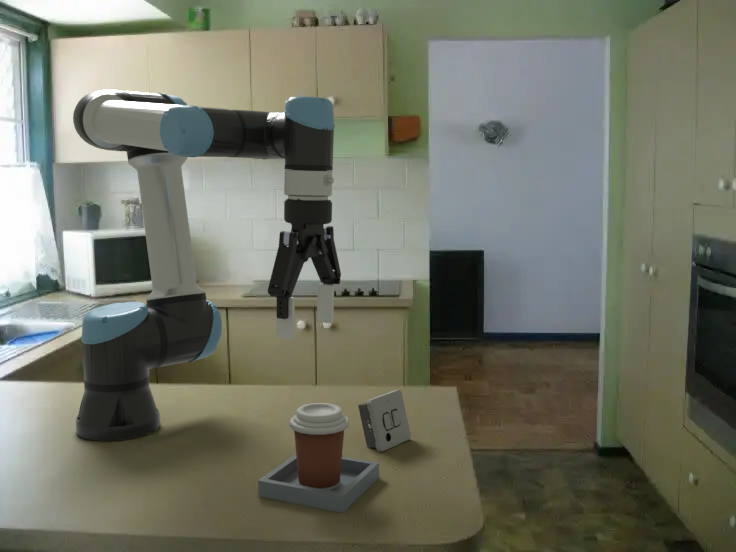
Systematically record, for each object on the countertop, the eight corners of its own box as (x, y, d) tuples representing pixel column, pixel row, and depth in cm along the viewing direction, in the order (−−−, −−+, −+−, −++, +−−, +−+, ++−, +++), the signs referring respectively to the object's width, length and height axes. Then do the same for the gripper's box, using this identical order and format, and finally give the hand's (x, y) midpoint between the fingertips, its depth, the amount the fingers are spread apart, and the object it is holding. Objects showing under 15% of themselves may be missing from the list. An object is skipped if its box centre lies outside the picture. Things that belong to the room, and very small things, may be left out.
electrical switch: (380, 454, 133) (377, 401, 132) (357, 449, 136) (354, 398, 135) (412, 439, 140) (409, 390, 139) (389, 436, 143) (386, 387, 143)
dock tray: (258, 496, 115) (258, 480, 114) (301, 464, 127) (301, 449, 127) (342, 512, 109) (343, 496, 109) (379, 477, 122) (379, 462, 122)
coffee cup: (314, 468, 124) (314, 397, 123) (360, 481, 119) (360, 407, 118) (277, 486, 117) (277, 411, 115) (325, 501, 112) (325, 422, 110)
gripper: (290, 202, 107) (288, 349, 110) (362, 196, 129) (359, 318, 133) (244, 199, 110) (244, 343, 113) (322, 194, 132) (320, 314, 135)
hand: (306, 330), depth 123 cm, fingers open, 13 cm apart
